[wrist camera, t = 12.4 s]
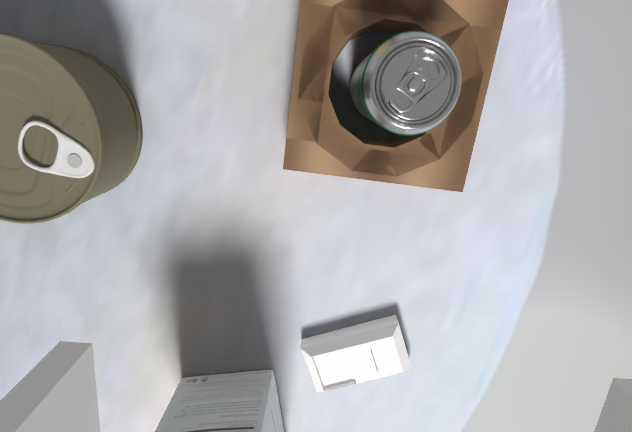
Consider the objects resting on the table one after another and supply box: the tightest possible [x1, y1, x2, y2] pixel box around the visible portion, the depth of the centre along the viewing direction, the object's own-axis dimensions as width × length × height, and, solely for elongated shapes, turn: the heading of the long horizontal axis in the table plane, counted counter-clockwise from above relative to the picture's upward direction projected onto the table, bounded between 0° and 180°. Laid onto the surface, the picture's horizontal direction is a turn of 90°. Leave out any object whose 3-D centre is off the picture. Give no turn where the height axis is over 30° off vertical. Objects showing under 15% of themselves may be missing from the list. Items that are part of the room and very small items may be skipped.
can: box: [0, 33, 143, 223], centre depth 29 cm, size 12×12×7 cm
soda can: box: [350, 31, 462, 135], centre depth 25 cm, size 5×5×12 cm
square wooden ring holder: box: [283, 0, 509, 192], centre depth 29 cm, size 13×13×4 cm
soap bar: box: [301, 314, 412, 392], centre depth 37 cm, size 5×9×3 cm, turn 107°
